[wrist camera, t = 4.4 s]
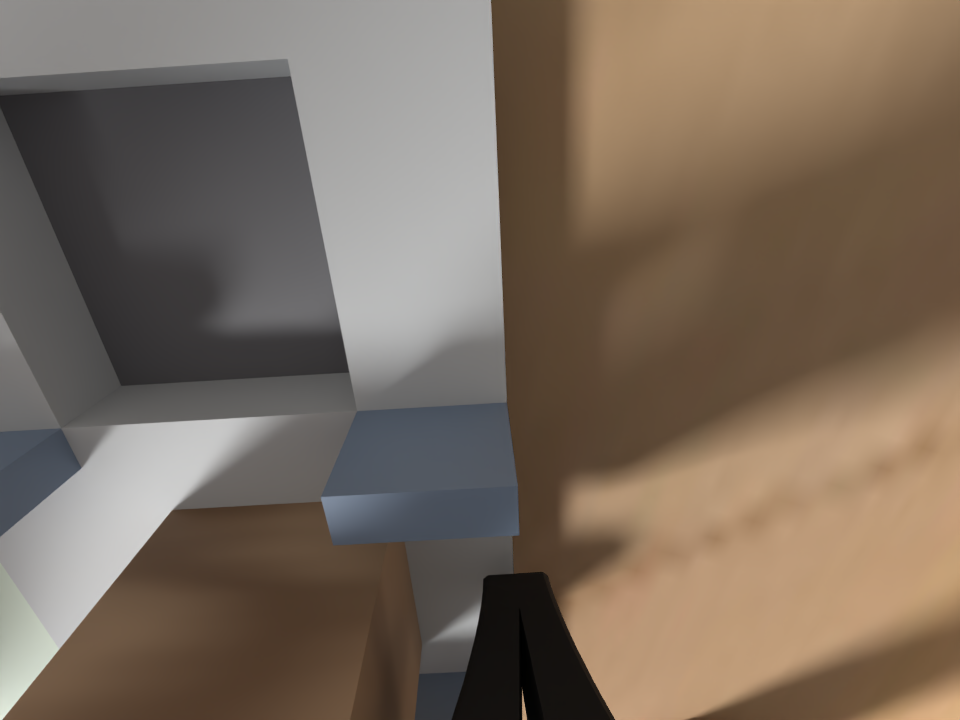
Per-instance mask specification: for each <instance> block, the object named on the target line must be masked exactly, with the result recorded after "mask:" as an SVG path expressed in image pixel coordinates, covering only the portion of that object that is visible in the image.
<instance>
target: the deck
mask: <svg viewBox="0 0 960 720" xmlns="http://www.w3.org/2000/svg"><path fill="white" fill-rule="evenodd" d="M306 502H322V504H323V508H324V512H325V516H326V520H327V523H328V527H329V531H330V535H331V539H332V543H333V546H334V545H352V544H370V543H389V542H405V547H406V553H407V559H408V564H409V570H410V576H411V582H412V588H413V594H414V599H415V605H416V611H417V617H418V623H419V629H420V635H421V640H422V651H421V661H420V671H419V681H418V691H417V701H416V711H415V720H451V719H452V716H453V713H454V710H455V707H456V704H457V700H458V697H459V694H460V691H461V688H462V685H463V681H464V678H465V674H466V670H467V666H468V662H469V658H470V655H471V651H472V647H473V643H474V639H475V634H476V629H477V625H478V620H479V614H480V608H481V601H482V593H483V579H484V578H485V577H486V576H488V575H498V574H514V568H513V543H512V536H517V535H519V508H518V484H517V476H516V468H515V461H514V453H513V445H512V438H511V430H510V422H509V415H508V407H507V392H506V367H505V341H504V316H503V291H502V266H501V240H500V215H499V190H498V165H497V140H496V114H495V89H494V64H493V39H492V13H491V0H0V720H2V719H3V718H4V717H5V716H6V715H7V713H8V712H9V711H10V710H11V708H12V707H13V706H14V705H15V703H16V702H17V701H18V700H19V698H20V697H21V696H22V695H23V694H24V692H25V691H26V690H27V689H28V687H29V686H30V685H31V684H32V682H33V681H34V680H35V679H36V677H37V676H38V675H39V674H40V673H41V671H42V670H43V669H44V668H45V666H46V665H47V664H48V663H49V661H50V660H51V659H52V658H53V656H54V655H55V654H56V653H57V652H58V650H59V649H60V648H61V647H62V645H63V644H64V643H65V642H66V640H67V639H68V638H69V637H70V635H71V634H72V633H73V632H74V631H75V629H76V628H77V627H78V626H79V624H80V623H81V622H82V621H83V619H84V618H85V617H86V616H87V615H88V613H89V612H90V611H91V610H92V608H93V607H94V606H95V605H96V603H97V602H98V601H99V600H100V598H101V597H102V596H103V595H104V594H105V592H106V591H107V590H108V589H109V587H110V586H111V585H112V584H113V582H114V581H115V580H116V579H117V577H118V576H119V575H120V574H121V573H122V571H123V570H124V569H125V568H126V566H127V565H128V564H129V563H130V561H131V560H132V559H133V558H134V556H135V555H136V554H137V553H138V552H139V550H140V549H141V548H142V547H143V545H144V544H145V543H146V542H147V540H148V539H149V538H150V537H151V535H152V534H153V533H154V532H155V531H156V529H157V528H158V527H159V526H160V524H161V523H162V522H163V521H164V519H165V518H166V517H167V516H168V515H169V513H170V512H171V511H172V510H180V509H198V508H216V507H234V506H252V505H270V504H288V503H306Z"/></svg>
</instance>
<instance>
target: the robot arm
mask: <svg viewBox="0 0 960 720" xmlns="http://www.w3.org/2000/svg"><path fill="white" fill-rule="evenodd" d="M522 690H523V696H524V702H525V708H526V715H527V720H615V719H614V717H613V715H612V713H611V712H610V710H609V708H608V706H607V705H606V703H605V701H604V699H603V698H602V696H601V694H600V692H599V690H598V688H597V687H596V685H595V683H594V681H593V679H592V677H591V675H590V673H589V671H588V669H587V667H586V665H585V663H584V661H583V659H582V658H581V656H580V654H579V652H578V650H577V648H576V646H575V643H574V641H573V639H572V637H571V635H570V633H569V631H568V628H567V626H566V624H565V621H564V619H563V617H562V615H561V612H560V610H559V607H558V605H557V602H556V600H555V597H554V594H553V591H552V588H551V585H550V582H549V579H548V576H547V575H546V574H545V573H543V572H535V573H517V574H498V575H488V576H486V577H485V578H484V579H483V593H482V601H481V608H480V614H479V620H478V625H477V629H476V634H475V639H474V643H473V647H472V651H471V655H470V658H469V662H468V666H467V670H466V674H465V678H464V681H463V685H462V688H461V691H460V694H459V697H458V700H457V704H456V707H455V710H454V713H453V716H452V719H451V720H522Z"/></svg>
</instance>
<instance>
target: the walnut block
mask: <svg viewBox="0 0 960 720" xmlns="http://www.w3.org/2000/svg"><path fill="white" fill-rule="evenodd" d="M421 651H422V640H421V635H420V629H419V623H418V617H417V611H416V605H415V599H414V594H413V588H412V582H411V576H410V570H409V564H408V559H407V553H406V547H405V542H389V543H370V544H352V545H334V546H333V543H332V539H331V535H330V531H329V527H328V523H327V520H326V516H325V512H324V508H323V504H322V502H306V503H288V504H270V505H252V506H234V507H216V508H198V509H180V510H172V511H171V512H170V513H169V515H168V516H167V517H166V518H165V519H164V521H163V522H162V523H161V524H160V526H159V527H158V528H157V529H156V531H155V532H154V533H153V534H152V535H151V537H150V538H149V539H148V540H147V542H146V543H145V544H144V545H143V547H142V548H141V549H140V550H139V552H138V553H137V554H136V555H135V556H134V558H133V559H132V560H131V561H130V563H129V564H128V565H127V566H126V568H125V569H124V570H123V571H122V573H121V574H120V575H119V576H118V577H117V579H116V580H115V581H114V582H113V584H112V585H111V586H110V587H109V589H108V590H107V591H106V592H105V594H104V595H103V596H102V597H101V598H100V600H99V601H98V602H97V603H96V605H95V606H94V607H93V608H92V610H91V611H90V612H89V613H88V615H87V616H86V617H85V618H84V619H83V621H82V622H81V623H80V624H79V626H78V627H77V628H76V629H75V631H74V632H73V633H72V634H71V635H70V637H69V638H68V639H67V640H66V642H65V643H64V644H63V645H62V647H61V648H60V649H59V650H58V652H57V653H56V654H55V655H54V656H53V658H52V659H51V660H50V661H49V663H48V664H47V665H46V666H45V668H44V669H43V670H42V671H41V673H40V674H39V675H38V676H37V677H36V679H35V680H34V681H33V682H32V684H31V685H30V686H29V687H28V689H27V690H26V691H25V692H24V694H23V695H22V696H21V697H20V698H19V700H18V701H17V702H16V703H15V705H14V706H13V707H12V708H11V710H10V711H9V712H8V713H7V715H6V716H5V717H4V718H3V719H2V720H415V711H416V701H417V691H418V681H419V671H420V661H421Z"/></svg>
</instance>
